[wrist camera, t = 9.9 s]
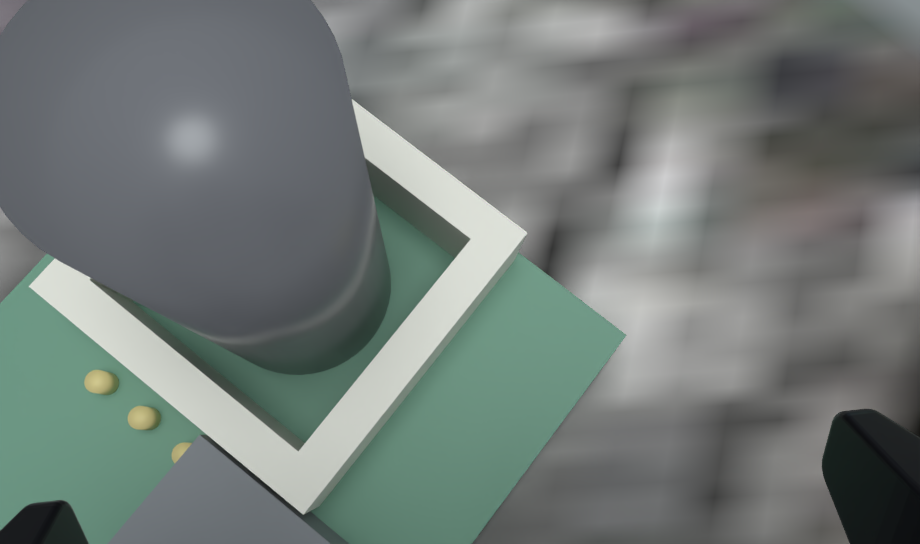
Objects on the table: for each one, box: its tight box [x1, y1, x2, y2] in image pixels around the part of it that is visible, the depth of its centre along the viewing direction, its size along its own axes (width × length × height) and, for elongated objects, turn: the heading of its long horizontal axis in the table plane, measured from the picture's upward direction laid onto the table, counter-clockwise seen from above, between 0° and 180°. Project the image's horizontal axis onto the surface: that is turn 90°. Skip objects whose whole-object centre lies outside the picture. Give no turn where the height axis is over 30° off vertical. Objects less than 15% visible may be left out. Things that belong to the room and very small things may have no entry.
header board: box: [0, 100, 626, 544], centre depth 21 cm, size 16×14×4 cm
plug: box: [0, 0, 391, 375], centre depth 17 cm, size 6×5×12 cm
